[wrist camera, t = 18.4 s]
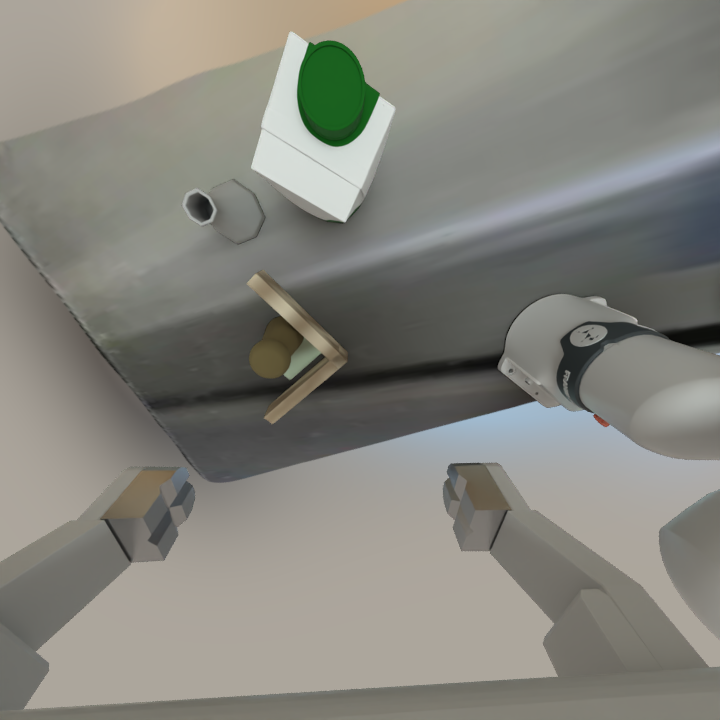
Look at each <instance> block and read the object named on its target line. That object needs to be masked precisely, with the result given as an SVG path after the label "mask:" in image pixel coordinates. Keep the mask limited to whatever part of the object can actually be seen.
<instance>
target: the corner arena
mask: <svg viewBox="0 0 720 720" xmlns="http://www.w3.org/2000/svg"><path fill="white" fill-rule="evenodd" d="M247 284H248V285H249V286H250V287H251V288H252V289H253V290H254V291H255V292H256V293H257V294H258V295H259V296H260V297H262V298H263V299H264V300H265V301H266V302H267V303H268V304H269V305H270V306H271V307H272V308H273V309H274V310H276V311H277V312H278V313H279V314H280V315H281V316H282V317H283V318H284V319H285V320H286V321H287V322H288V323H290V324H291V325H292V326H293V327H294V328H295V329H296V330H297V331H298V332H299V333H300V334H301V335H303V336H304V339H303V342H302V344H301V345H300V346H299V348H298V349H297V350H296V351H295V352H294V354H293V355H292V356H291V363H290V367H289V369H288V370H287V371H286V373H284V374H283V375H284V376H286V377H287V378H288V379H289V380H291V379H292V378H293V377H295V376H296V375H297V374H298V373H299V372H300V371H301V370H302V369H304V368H305V367H306V366H307V365H308V364H309V363H310V362H312V361H313V360H314V359H315V358H316V357H317V356H318V355H319V354H321V353H322V354H323V355H324V356H325V357H324V358H323V359H322V360H321V361H320V362H319V363H317V364H316V365H315V366H314V367H313V368H312V369H310V370H309V371H308V372H307V373H306V374H305V375H304V376H302V377H301V378H300V379H299V380H298V381H297V382H296V383H294V384H293V385H292V386H291V387H290V388H289V389H288V390H286V391H285V392H284V393H283V394H282V395H281V396H279V397H278V398H277V399H276V400H275V401H274V402H273V403H271V404H270V405H269V407H268V409H267V411H266V413H265V416H264V418H265V419H266V420H268V421H269V422H270V423H272V424H274V423H275V422H276V421H277V420H278V419H280V418H281V417H282V416H283V415H284V414H286V413H287V412H288V411H289V410H290V409H291V408H293V407H294V406H295V405H296V404H297V403H299V402H300V401H301V400H302V399H303V398H305V397H306V396H307V395H308V394H309V393H311V392H312V391H313V390H314V389H315V388H317V387H318V386H319V385H320V384H321V383H323V382H324V381H325V380H326V379H327V378H328V377H330V376H331V375H332V374H333V373H334V372H336V371H337V370H338V369H339V368H340V367H342V366H343V365H344V364H345V363H346V362H348V352H347V351H346V350H345V349H344V348H343V347H342V346H341V345H340V344H339V343H338V342H337V341H336V340H335V339H334V338H333V337H332V336H331V335H329V334H328V333H327V332H326V331H325V330H324V329H323V328H322V327H321V326H320V325H319V324H318V323H317V322H316V321H315V320H314V319H313V318H312V317H311V316H310V315H309V314H308V313H307V312H306V311H305V310H304V309H303V308H302V307H301V306H300V305H299V304H298V303H297V302H296V301H295V300H294V299H293V298H292V297H291V296H290V295H289V294H288V293H287V292H285V291H284V290H283V289H282V288H281V287H280V286H279V285H278V284H277V283H276V282H275V281H274V280H273V279H272V278H271V277H270V276H269V275H268V274H267V273H266V272H265V271H264V270H262V271H260V272H258V273H256V274H255V275H254V276H253V277H252V278H251V279H250V280H249V281H248V283H247Z"/></svg>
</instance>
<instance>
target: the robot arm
mask: <svg viewBox="0 0 720 720" xmlns="http://www.w3.org/2000/svg"><path fill="white" fill-rule="evenodd" d="M509 369H511V370H510V371H509ZM498 370H499V371H500V372H502V373H503V374H504V375H505V376H507V377H508V378H509V379H510V380H512V381H513V382H514V383H515V384H517V385H518V386H519V387H520V388H522V389H523V390H524V391H525V392H527V393H528V394H529V395H530V396H532V397H533V398H534V399H535V400H536V401H538V402H539V403H540V404H542V405H543V406H545V407H547V408H550V407H555V406H559V405H562V406H563V407H565V408H566V409H567V410H569V411H580V410H586V411H588V412H591V413H595V414H594V418H595V419H596V420H597V421H598V422H599V423H600V424H601V425H603V426H605V427H607V426H609V425H611V426H613V427H614V428H616V429H617V430H618V431H620V432H621V433H622V434H624V435H625V436H627V437H628V438H629V439H631V440H632V441H633V442H635V443H636V444H638V445H639V446H641V447H643V448H645V449H647V450H650V451H652V452H655V453H657V454H660V455H664V456H667V457H671V458H677V459H685V460H720V356H719V355H716V354H713V353H709V352H706V351H703V350H699V349H696V348H693V347H689V346H686V345H683V344H680V343H677V342H674V341H670V339H669V338H668V337H666V336H665V335H663V334H661V333H659V332H657V331H655V330H653V329H651V328H648V327H645V326H641V325H638V324H637V319H636V318H634V317H632V316H630V315H627V314H625V313H623V312H620V311H618V310H615V309H613V308H610V307H607V303H606V300H605V299H604V298H601V297H599V296H591V297H585V298H580V297H576V296H573V295H568V294H556V295H551V296H548V297H545V298H542V299H540V300H538V301H536V302H534V303H533V304H531V305H530V306H529V307H527V308H526V309H525V310H524V311H523V312H522V313H521V314H520V315H519V316H518V317H517V318H516V320H515V321H514V322H513V324H512V326H511V327H510V329H509V332H508V334H507V338H506V343H505V351H504V354H503V356H502V357H501V359H500V361H499V364H498ZM447 474H448V476H449V478H448V479H447V480H446V481H445V482H444V487H443V499H444V504H445V507H446V510H447V513H448V514H449V515H450V516H451V517H452V518H453V519H454V520H455V522H454V526H453V530H454V532H455V535H456V538H457V541H458V543H459V546H460V549H461V551H490V554H491V555H492V556H493V557H494V558H495V559H496V560H497V561H498V562H499V563H500V565H501V566H502V567H503V568H504V569H505V570H506V571H507V572H508V573H509V574H510V575H511V576H512V578H513V579H514V580H515V581H516V582H517V583H518V584H519V585H520V586H521V587H522V589H523V590H524V591H525V592H526V593H527V594H528V595H529V596H530V597H531V598H532V600H533V601H534V602H535V603H536V604H537V605H538V606H539V607H540V608H541V609H542V610H543V612H544V613H545V614H546V615H547V616H548V617H549V618H550V619H551V620H552V621H553V622H554V626H553V627H552V628H551V630H550V631H549V632H548V633H547V635H546V636H545V638H544V642H543V645H544V647H545V649H546V651H547V654H548V656H549V658H550V660H551V662H552V664H553V666H554V668H555V670H556V673H557V675H558V677H547V678H530V679H513V680H499V681H498V680H497V681H481V682H464V683H448V684H433V685H416V686H400V687H384V688H367V689H351V690H334V691H318V692H302V693H287V694H270V695H253V696H237V697H221V698H204V699H188V700H172V701H155V702H142V703H141V702H140V703H124V704H107V705H90V706H76V707H58V708H42V709H26V710H23V709H24V707H25V706H26V704H27V703H28V701H29V700H30V698H31V697H32V695H33V694H34V692H35V691H36V689H37V688H38V686H39V685H40V683H41V682H42V680H43V679H44V677H45V676H46V674H47V673H48V671H49V663H48V662H47V661H46V660H44V659H43V658H42V657H41V656H40V655H39V654H37V653H36V651H37V650H38V649H39V648H40V647H41V646H42V645H43V644H44V643H46V642H47V641H48V640H49V639H50V638H51V637H52V636H53V635H54V634H55V633H57V631H59V630H60V629H61V628H62V627H63V626H64V625H65V624H66V623H67V622H69V621H70V620H71V619H72V618H73V617H74V616H75V615H76V614H77V613H78V612H80V610H82V609H83V608H84V607H85V606H86V605H87V604H88V603H89V602H90V601H92V600H93V599H94V598H95V597H96V596H97V595H98V594H99V593H100V592H101V591H102V590H104V589H105V588H106V587H107V586H108V585H109V584H110V583H111V582H112V581H113V580H115V579H116V578H117V577H118V576H119V575H120V574H121V573H122V572H123V571H124V570H125V569H127V567H128V566H130V565H131V563H132V562H148V561H164V560H165V558H166V556H167V554H168V553H169V551H170V549H171V547H172V545H173V544H174V542H175V540H176V538H177V537H178V531H177V527H178V526H179V525H181V524H182V523H183V522H184V521H186V520H187V518H188V516H189V514H190V513H191V511H192V508H193V504H194V501H195V491H194V488H193V486H192V485H191V484H190V483H188V482H187V481H186V480H187V479H188V477H189V473H188V471H187V469H186V468H184V467H129V468H127V469H125V470H123V471H122V472H121V473H120V475H119V476H118V477H117V478H116V479H115V480H114V481H113V482H112V483H111V484H110V485H109V486H108V487H107V488H106V489H105V490H104V492H103V493H102V494H101V495H100V496H99V497H98V498H97V499H96V500H95V501H94V502H93V503H92V504H91V505H90V506H89V508H88V509H87V510H86V511H85V512H84V513H83V514H82V515H81V516H80V517H79V518H78V519H77V520H76V521H69V522H67V523H66V524H64V525H62V526H60V527H59V528H57V529H55V530H54V531H52V532H50V533H49V534H47V535H46V536H44V537H42V538H40V539H39V540H37V541H35V542H33V543H32V544H30V545H28V546H27V547H25V548H23V549H22V550H20V551H18V552H16V553H15V554H13V555H11V556H10V557H8V558H7V559H5V560H3V561H1V562H0V720H720V667H709V666H708V665H707V664H706V663H705V662H704V660H703V659H702V658H701V657H700V656H699V654H698V653H697V652H696V651H695V650H694V648H693V647H692V646H691V645H690V644H689V642H688V641H687V640H686V639H685V638H684V636H683V635H682V634H681V633H680V632H679V630H678V629H677V628H676V627H675V626H674V624H673V623H672V622H671V621H670V620H669V618H668V617H667V616H666V615H665V614H664V612H663V611H662V610H661V609H660V608H659V606H658V605H657V604H656V603H655V602H654V600H653V599H652V598H651V597H650V596H649V594H648V593H647V592H646V591H645V590H644V588H643V587H642V586H641V585H640V584H638V583H637V582H635V581H634V580H633V579H631V578H630V577H629V576H627V575H626V574H624V573H623V572H622V571H620V570H619V569H617V568H616V567H615V566H613V565H612V564H610V563H609V562H608V561H606V560H605V559H603V558H602V557H600V556H599V555H598V554H596V553H595V552H593V551H592V550H591V549H589V548H588V547H587V546H585V545H584V544H582V543H581V542H580V541H578V540H577V539H575V538H574V537H573V536H571V535H570V534H568V533H567V532H566V531H564V530H563V529H562V528H560V527H559V526H557V525H556V524H554V523H553V522H552V521H550V520H549V519H547V518H546V517H545V516H543V515H542V514H541V513H539V512H538V511H536V510H531V509H530V508H529V506H528V505H527V503H526V502H525V500H524V499H523V498H522V496H521V495H520V493H519V492H518V490H517V489H516V487H515V486H514V484H513V483H512V481H511V480H510V478H509V477H508V475H507V474H506V472H505V471H504V470H503V468H502V466H501V465H500V464H498V463H456V464H450V465H449V466H448V470H447ZM659 545H660V552H661V556H662V560H663V563H664V565H665V568H666V570H667V573H668V575H669V577H670V579H671V581H672V583H673V584H674V586H675V588H676V589H677V591H678V593H679V594H680V596H681V597H682V599H683V600H684V601H685V603H686V604H687V605H688V607H689V608H690V609H691V610H692V611H693V613H694V614H695V615H696V616H697V617H698V619H699V620H700V621H701V622H702V623H703V624H704V625H705V626H706V627H707V628H708V629H709V630H710V631H711V632H712V633H713V634H714V635H715V636H716V637H717V638H718V639H719V640H720V489H719V490H717V491H714V492H712V493H709V494H707V495H706V496H704V497H703V498H702V499H700V500H698V501H697V502H696V503H694V504H693V505H691V506H690V507H688V508H687V509H685V510H684V511H683V512H682V513H680V514H679V515H678V516H677V517H675V518H674V519H672V520H671V521H670V522H669V523H668V524H666V525H665V526H663V527H662V528H661V529H660V531H659Z"/></svg>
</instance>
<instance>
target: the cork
mask: <svg viewBox="0 0 720 720" xmlns="http://www.w3.org/2000/svg"><path fill="white" fill-rule="evenodd" d="M303 339H304V336H303V335H301V334H300V333H299V332H298V331H297V330H296V329H295V328H294V327H293V326H292V325H291V324H290V323H288V322H287V321H286V320H285V319H284V318H283V317H282V316H279V317H276V318H274V319H273V320H271V321H270V322H269V324H268V325H267V328H266V330H265V333H264V336H263V338H262V341H260V342H258V343H257V344H255V345H254V347H253V348H252V350H251V351H250V355H249V362H250V365H251V367H252V369H253V370H254V371H255V372H256V373H257V374H258V375H260V376H261V377H264V378H277V377H280V376H281V375H283V374H284V373H286V371H287V370H288V369H289V367H290V363H291V356H292V355H293V354H294V352H295V351H296V350H297V349H298V348H299V346H300V345H301V344H302V342H303Z"/></svg>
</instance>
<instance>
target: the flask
mask: <svg viewBox="0 0 720 720" xmlns="http://www.w3.org/2000/svg"><path fill="white" fill-rule="evenodd" d="M182 207H183V209H184V211H185V212H186V214H187V216H188V218H189V219H190V220H192V221H194V222H195V223H197V224H198V225H200V226H202V227H203V226H205V225H208V224H211V225H212V226H213V227H214V228H215V230H216V231H217V232H219V233H220V234H222V235H223V236H225V237H227V238H228V239H230V240H231V241H233V242H235V243H236V244H240V243H243V242H245V241H248V240H250V239H252V238H255V237H257V234H258V232H259V230H260V228H261V226H262V223H263V221H264V219H265V216H264V213H263V211H262V209H261V207H260V205H259V202H258V200H257V198H256V196H255V194H254V193H253V192H251V191H250V190H249V189H247V188H246V187H244V186H243V185H241V184H240V183H239V182H237V181H236V180H234V179H232V180H229V181H227V182H225V183H223V184H220V185H218V186H216V187H214V188H212V189H211V191H210V192H209V193H208V194H206V193H205V192H203V191H202V190H200V189H199V188H195V189H193V190H191V191H188V192H186V193H185V196H184V199H183V202H182Z"/></svg>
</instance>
